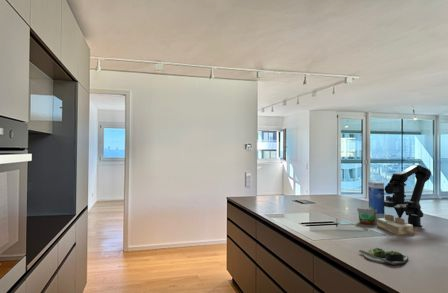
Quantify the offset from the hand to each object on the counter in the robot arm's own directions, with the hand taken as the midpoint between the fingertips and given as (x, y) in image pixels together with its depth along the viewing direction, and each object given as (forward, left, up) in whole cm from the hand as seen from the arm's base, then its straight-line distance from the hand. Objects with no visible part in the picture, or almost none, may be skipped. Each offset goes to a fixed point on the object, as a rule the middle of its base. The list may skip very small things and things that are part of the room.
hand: (399, 217), depth 192 cm
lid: (+7, +10, -2) cm, 12 cm away
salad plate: (+43, +51, -7) cm, 67 cm away
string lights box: (-6, -34, -7) cm, 35 cm away
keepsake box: (+7, +5, -7) cm, 11 cm away
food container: (+14, -13, -7) cm, 20 cm away
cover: (+7, 0, -2) cm, 7 cm away
